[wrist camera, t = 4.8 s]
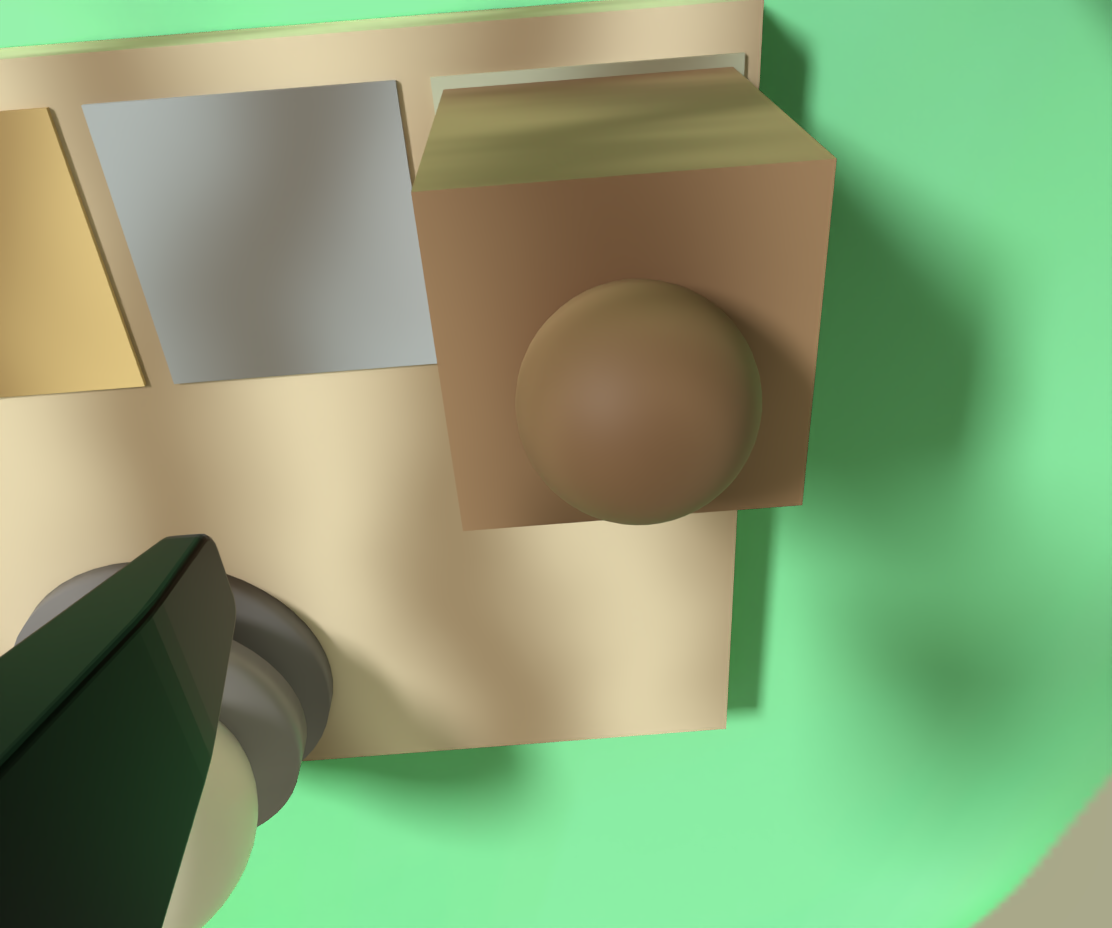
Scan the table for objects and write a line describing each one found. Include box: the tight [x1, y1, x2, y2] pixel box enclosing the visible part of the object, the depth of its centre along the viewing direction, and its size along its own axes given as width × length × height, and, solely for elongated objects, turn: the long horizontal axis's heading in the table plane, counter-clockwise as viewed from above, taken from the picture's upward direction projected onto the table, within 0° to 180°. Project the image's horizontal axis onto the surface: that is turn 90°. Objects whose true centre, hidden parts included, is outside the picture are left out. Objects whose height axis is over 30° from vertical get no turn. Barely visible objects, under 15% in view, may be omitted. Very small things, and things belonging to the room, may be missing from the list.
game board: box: [0, 0, 764, 761], centre depth 20 cm, size 24×18×4 cm
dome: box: [162, 640, 307, 928], centre depth 20 cm, size 7×7×6 cm
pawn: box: [411, 67, 837, 531], centre depth 14 cm, size 5×5×8 cm
